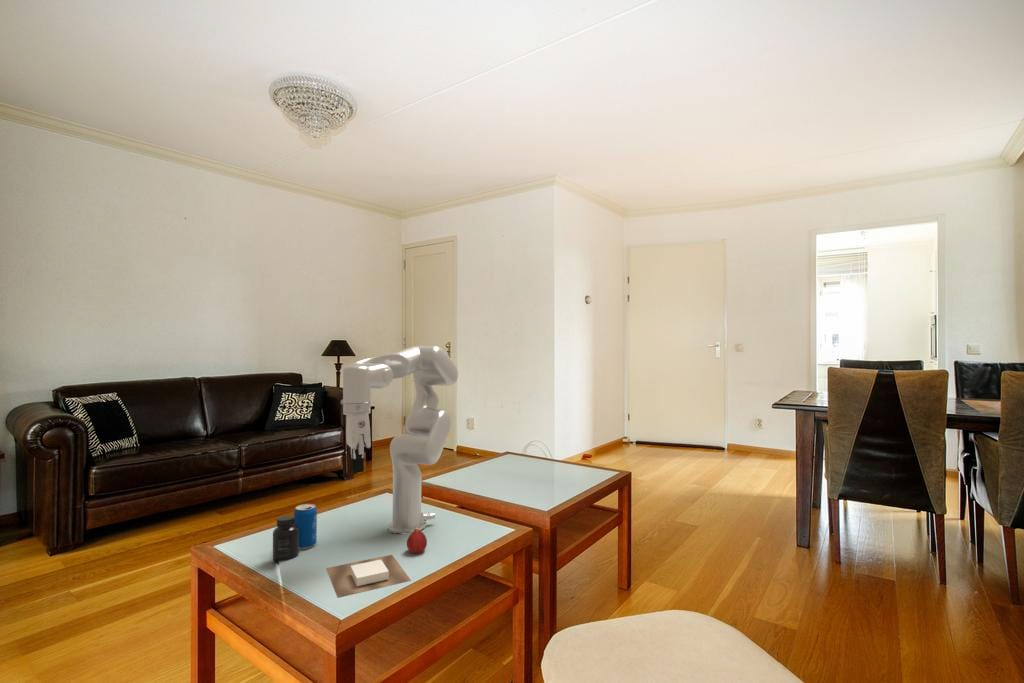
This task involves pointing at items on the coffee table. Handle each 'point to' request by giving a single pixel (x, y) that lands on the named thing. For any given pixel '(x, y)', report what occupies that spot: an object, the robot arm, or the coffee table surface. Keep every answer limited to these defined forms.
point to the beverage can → (306, 525)
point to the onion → (416, 541)
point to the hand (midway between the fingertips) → (357, 471)
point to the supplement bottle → (285, 539)
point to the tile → (369, 572)
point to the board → (347, 586)
